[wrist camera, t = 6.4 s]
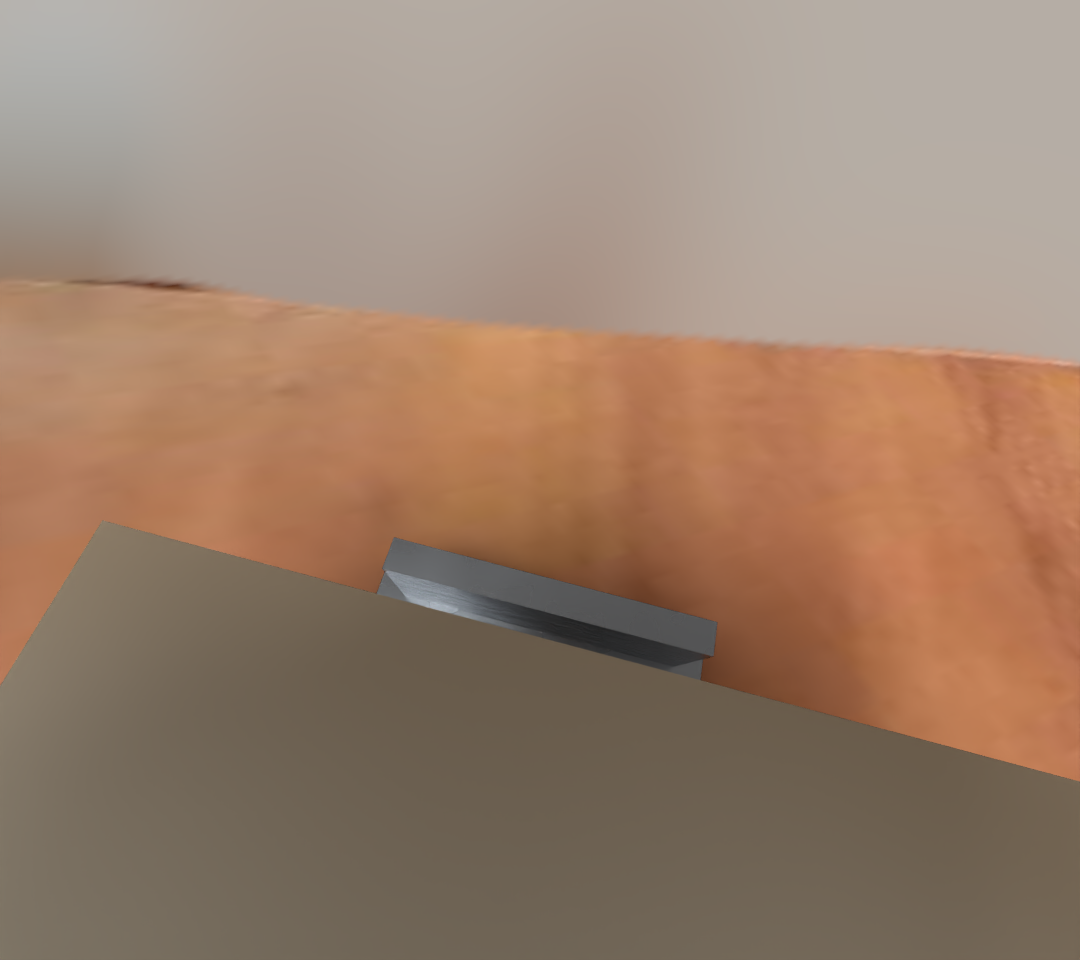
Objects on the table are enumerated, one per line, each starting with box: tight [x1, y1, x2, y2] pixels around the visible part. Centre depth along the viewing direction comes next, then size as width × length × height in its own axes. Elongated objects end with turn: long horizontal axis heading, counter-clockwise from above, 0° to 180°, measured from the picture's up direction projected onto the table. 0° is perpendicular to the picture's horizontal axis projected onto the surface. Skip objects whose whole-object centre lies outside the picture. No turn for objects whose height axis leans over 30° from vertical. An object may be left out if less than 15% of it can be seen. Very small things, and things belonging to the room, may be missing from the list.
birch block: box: [0, 521, 1080, 960], centre depth 8 cm, size 2×6×12 cm, turn 76°
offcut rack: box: [377, 538, 717, 680], centre depth 15 cm, size 17×12×5 cm
